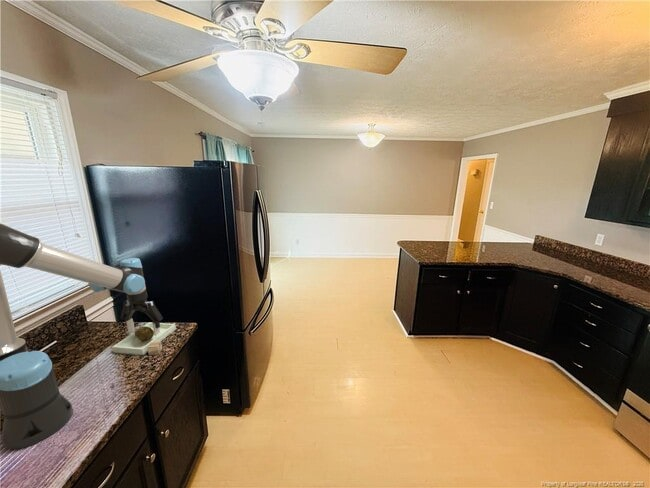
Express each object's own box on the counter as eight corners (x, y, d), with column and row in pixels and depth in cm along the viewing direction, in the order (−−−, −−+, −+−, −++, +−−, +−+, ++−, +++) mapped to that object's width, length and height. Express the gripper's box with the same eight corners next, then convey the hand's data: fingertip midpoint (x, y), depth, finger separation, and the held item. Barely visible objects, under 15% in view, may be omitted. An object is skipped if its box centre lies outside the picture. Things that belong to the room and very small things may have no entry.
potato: (158, 330, 133) (155, 316, 131) (154, 345, 122) (150, 329, 120) (138, 334, 130) (135, 320, 128) (132, 350, 118) (128, 334, 116)
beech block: (158, 354, 116) (157, 346, 115) (148, 355, 115) (147, 347, 115) (162, 348, 120) (160, 340, 119) (152, 349, 119) (151, 342, 118)
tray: (143, 355, 115) (142, 349, 115) (113, 352, 117) (112, 346, 117) (176, 329, 136) (175, 324, 135) (150, 327, 138) (149, 322, 137)
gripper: (167, 289, 122) (173, 330, 127) (119, 287, 125) (128, 327, 130) (154, 296, 115) (162, 339, 120) (104, 293, 118) (114, 335, 123)
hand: (144, 333), depth 125 cm, fingers open, 13 cm apart
